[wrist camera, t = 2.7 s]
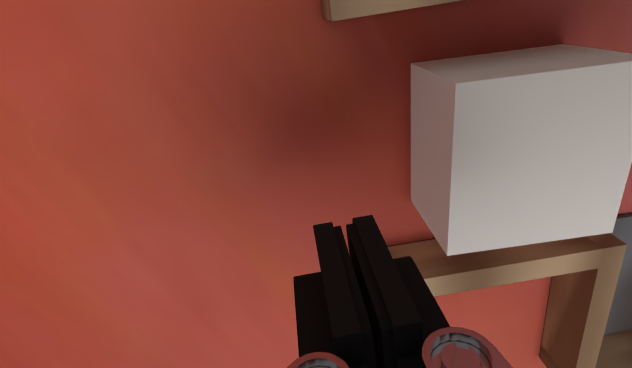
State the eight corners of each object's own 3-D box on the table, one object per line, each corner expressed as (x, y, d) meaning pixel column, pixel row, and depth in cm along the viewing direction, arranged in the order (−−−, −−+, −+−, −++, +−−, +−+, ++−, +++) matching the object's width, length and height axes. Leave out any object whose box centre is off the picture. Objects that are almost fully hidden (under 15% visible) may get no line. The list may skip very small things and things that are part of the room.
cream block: (561, 43, 17) (660, 57, 13) (538, 181, 20) (612, 232, 16) (409, 62, 17) (455, 83, 13) (409, 199, 20) (447, 255, 16)
